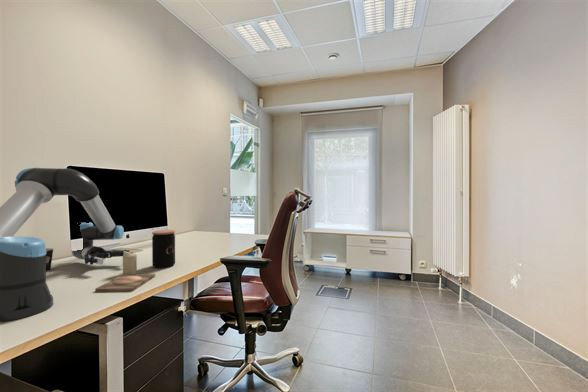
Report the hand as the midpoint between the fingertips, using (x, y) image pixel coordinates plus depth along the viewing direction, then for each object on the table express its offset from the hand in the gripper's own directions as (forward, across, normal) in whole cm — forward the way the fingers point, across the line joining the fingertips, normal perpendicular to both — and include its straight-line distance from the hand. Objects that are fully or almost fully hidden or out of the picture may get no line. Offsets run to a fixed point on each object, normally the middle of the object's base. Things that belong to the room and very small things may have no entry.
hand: (117, 258), depth 129 cm
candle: (+10, 0, -6) cm, 12 cm away
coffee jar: (+12, -16, -6) cm, 21 cm away
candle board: (+23, +9, -6) cm, 25 cm away
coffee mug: (-34, +18, -6) cm, 39 cm away
